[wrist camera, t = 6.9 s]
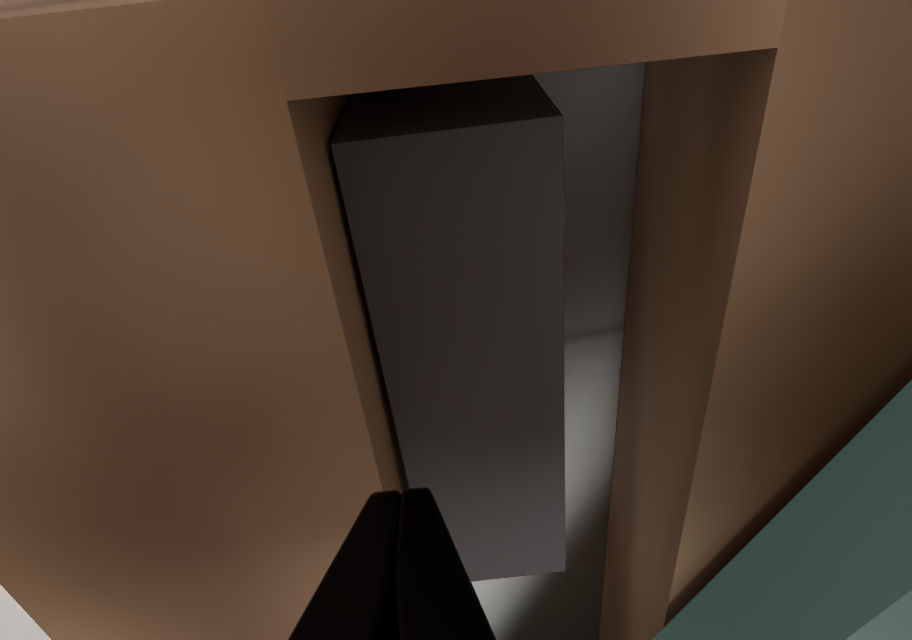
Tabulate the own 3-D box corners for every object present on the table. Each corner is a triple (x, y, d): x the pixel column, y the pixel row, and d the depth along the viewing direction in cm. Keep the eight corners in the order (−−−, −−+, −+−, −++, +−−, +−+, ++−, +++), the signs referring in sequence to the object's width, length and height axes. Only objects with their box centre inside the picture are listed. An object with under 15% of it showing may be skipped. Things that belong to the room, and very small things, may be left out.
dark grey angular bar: (431, 585, 13) (564, 571, 13) (330, 144, 8) (562, 115, 8) (429, 480, 16) (541, 467, 16) (352, 90, 10) (527, 67, 10)
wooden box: (278, 719, 22) (253, 857, 19) (-138, 15, 9) (-473, 71, 6) (714, 679, 22) (765, 813, 19) (965, -109, 9) (1304, -128, 5)
